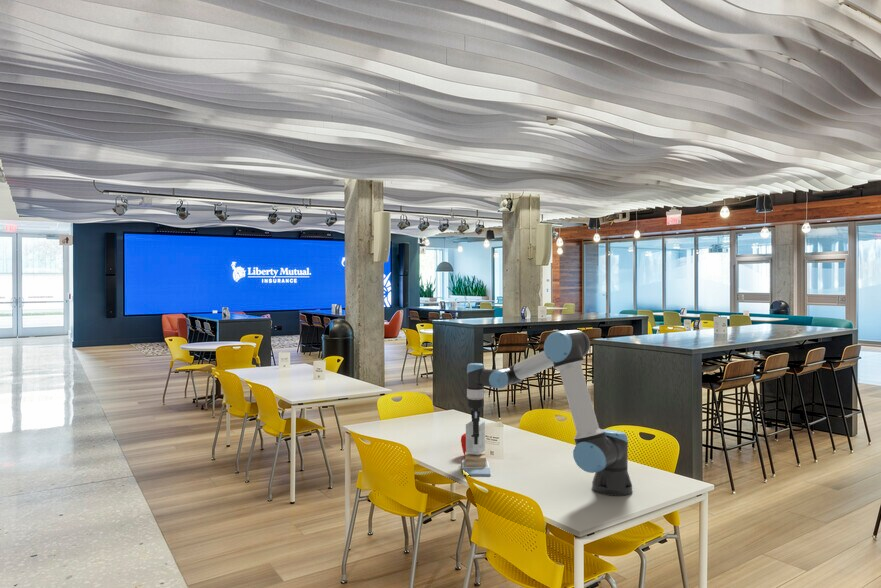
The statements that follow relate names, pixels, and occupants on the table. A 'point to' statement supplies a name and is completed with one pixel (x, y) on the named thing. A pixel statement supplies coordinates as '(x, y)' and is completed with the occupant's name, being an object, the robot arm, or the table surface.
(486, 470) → the board
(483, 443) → the small box
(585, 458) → the robot arm
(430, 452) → the table surface
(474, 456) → the plinth
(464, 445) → the apple
